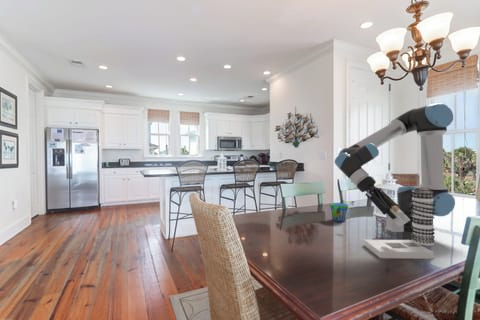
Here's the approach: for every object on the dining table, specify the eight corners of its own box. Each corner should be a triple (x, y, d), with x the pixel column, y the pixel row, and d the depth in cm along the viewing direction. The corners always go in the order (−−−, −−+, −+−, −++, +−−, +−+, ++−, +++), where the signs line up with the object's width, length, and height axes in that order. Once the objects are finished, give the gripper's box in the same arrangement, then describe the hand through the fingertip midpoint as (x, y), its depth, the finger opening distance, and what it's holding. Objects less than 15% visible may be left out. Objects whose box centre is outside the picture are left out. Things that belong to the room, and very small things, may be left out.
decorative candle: (439, 247, 105) (439, 189, 105) (414, 244, 108) (413, 188, 108) (431, 240, 113) (430, 187, 113) (407, 238, 117) (407, 186, 117)
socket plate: (410, 245, 107) (410, 238, 107) (433, 258, 93) (433, 250, 93) (364, 245, 108) (363, 238, 108) (380, 258, 94) (380, 250, 94)
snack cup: (336, 216, 160) (336, 201, 160) (352, 219, 153) (352, 203, 153) (325, 221, 149) (324, 205, 149) (342, 224, 142) (342, 207, 142)
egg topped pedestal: (397, 228, 103) (397, 205, 103) (403, 231, 98) (403, 207, 98) (386, 228, 103) (386, 205, 103) (392, 231, 99) (392, 207, 98)
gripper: (365, 184, 118) (404, 224, 106) (347, 187, 105) (389, 233, 93) (376, 174, 114) (418, 214, 102) (360, 176, 101) (405, 222, 89)
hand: (404, 223), depth 98 cm, fingers closed on egg topped pedestal, 6 cm apart
